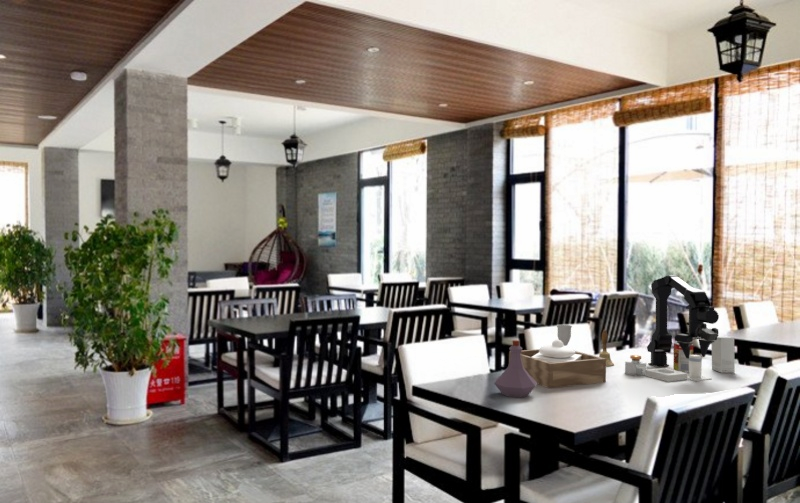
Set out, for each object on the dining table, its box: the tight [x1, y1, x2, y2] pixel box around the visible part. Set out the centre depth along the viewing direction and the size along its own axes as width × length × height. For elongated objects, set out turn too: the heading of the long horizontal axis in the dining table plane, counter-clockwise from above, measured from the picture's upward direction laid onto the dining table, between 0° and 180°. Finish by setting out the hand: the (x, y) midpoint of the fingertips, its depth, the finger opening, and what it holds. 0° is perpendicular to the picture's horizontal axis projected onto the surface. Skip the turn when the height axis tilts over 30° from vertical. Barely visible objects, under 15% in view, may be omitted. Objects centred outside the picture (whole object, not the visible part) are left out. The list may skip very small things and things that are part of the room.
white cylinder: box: [688, 354, 703, 378], centre depth 258 cm, size 5×5×9 cm
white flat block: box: [644, 367, 688, 382], centre depth 258 cm, size 12×11×2 cm
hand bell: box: [598, 329, 615, 367], centre depth 285 cm, size 8×8×16 cm
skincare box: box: [711, 334, 736, 374], centre depth 272 cm, size 8×7×16 cm
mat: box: [686, 374, 713, 382], centre depth 258 cm, size 9×9×1 cm
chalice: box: [556, 324, 573, 346], centre depth 284 cm, size 7×7×18 cm
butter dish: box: [532, 339, 582, 363], centre depth 256 cm, size 18×18×16 cm
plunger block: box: [624, 360, 647, 377], centre depth 265 cm, size 6×6×5 cm
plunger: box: [629, 354, 642, 364], centre depth 265 cm, size 4×4×7 cm
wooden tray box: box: [508, 348, 607, 389], centre depth 256 cm, size 28×28×10 cm
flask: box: [493, 339, 538, 398], centre depth 228 cm, size 16×16×20 cm
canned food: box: [672, 341, 694, 373], centre depth 273 cm, size 8×8×12 cm
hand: (695, 357), depth 257 cm, fingers open, 9 cm apart
